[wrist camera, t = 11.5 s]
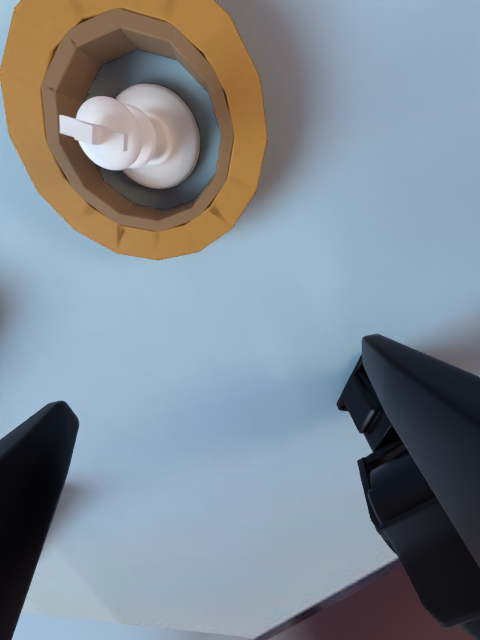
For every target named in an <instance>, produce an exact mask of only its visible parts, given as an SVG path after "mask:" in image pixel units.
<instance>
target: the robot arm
mask: <svg viewBox="0 0 480 640" xmlns="http://www.w3.org/2000/svg"><path fill="white" fill-rule="evenodd" d="M337 407H338V409H339V410H341V411H349V413H350V415H351V417H352V419H353V421H354V423H355V425H356V427H357V429H358V431H359V432H360V433H363V434H364V436H365V437H366V439H367V441H368V443H369V445H370V447H371V449H372V451H373V453H371V454H370V455H368V456H367V457H365V458H364V457H363V458H361V459H359V460H358V461H357V463H358V467H359V471H360V477H361V481H362V485H363V489H364V493H365V498H366V502H367V506H368V510H369V514H370V518H371V521H372V522H373V524H374V525H375V528H376V530H377V532H378V533H379V534H380V535H381V536H382V538H383V539H384V541H385V542H386V543H387V545H388V546H389V547H390V548H391V549H392V551H393V552H394V553H396V554H397V556H398V557H399V559H400V561H401V562H402V564H403V566H404V568H405V570H406V572H407V574H408V576H409V578H410V580H411V582H412V584H413V586H414V588H415V590H416V592H417V594H418V596H419V598H420V600H421V602H422V604H423V606H424V607H425V608H426V609H427V610H428V611H429V612H430V614H431V615H433V617H434V618H435V619H436V620H437V621H438V622H439V623H440V624H441V625H442V626H443V627H445V628H447V629H448V628H451V627H454V626H457V625H458V626H459V627H460V628H462V629H463V630H464V631H465V632H466V633H468V634H469V635H470V636H471V637H472V638H473V639H475V640H480V377H478V376H476V375H473V374H471V373H469V372H466V371H464V370H462V369H459V368H457V367H455V366H452V365H450V364H448V363H445V362H443V361H441V360H438V359H436V358H433V357H431V356H429V355H426V354H424V353H422V352H419V351H417V350H415V349H412V348H410V347H408V346H405V345H403V344H401V343H398V342H396V341H394V340H391V339H389V338H387V337H384V336H382V335H379V334H373V335H368V336H364V337H363V338H362V355H361V357H360V359H359V361H358V363H357V365H356V367H355V369H354V371H353V372H352V374H351V376H350V378H349V380H348V382H347V384H346V386H345V388H344V390H343V392H342V394H341V396H340V398H339V400H338V402H337ZM78 428H79V420H78V418H77V416H76V415H75V414H74V412H73V411H72V409H71V408H70V407H69V405H68V404H67V403H66V402H64V401H57V402H52V403H49V404H47V405H46V406H45V407H43V408H42V409H41V410H39V411H38V412H37V413H35V414H34V415H33V416H31V417H30V418H29V419H27V420H26V421H25V422H23V423H22V424H21V425H19V426H18V427H17V428H15V429H14V430H13V431H11V432H10V433H9V434H7V435H6V436H5V437H3V438H2V439H1V440H0V640H12V637H13V633H14V631H15V628H16V625H17V622H18V619H19V616H20V613H21V610H22V607H23V604H24V601H25V598H26V596H27V593H28V590H29V587H30V584H31V581H32V578H33V575H34V572H35V569H36V566H37V563H38V560H39V557H40V554H41V551H42V548H43V545H44V542H45V540H46V537H47V534H48V531H49V528H50V525H51V522H52V519H53V516H54V513H55V510H56V507H57V504H58V501H59V498H60V495H61V492H62V489H63V487H64V484H65V480H66V477H67V474H68V470H69V466H70V462H71V458H72V453H73V449H74V445H75V441H76V437H77V432H78Z"/></svg>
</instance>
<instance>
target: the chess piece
mask: <svg viewBox="0 0 480 640" xmlns="http://www.w3.org/2000/svg"><path fill="white" fill-rule="evenodd" d="M59 122H60V133H61V134H65V135H68V136H72V137H74V140H78V141H79V144H80V146H81V148H82V149H83V151H84V152H85V154H86V155H87V156H88V157H89V158H90V159H91V160H92V161H93V162H94V163H96V164H97V165H99V166H101V167H103V168H105V169H109V170H122V171H123V172H124V173H125V174H126V175H127V176H128V177H129V178H131V179H132V180H133V181H135V182H137V183H138V184H140V185H143V186H145V187H149V188H154V189H168V188H172V187H174V186H177V185H179V184H180V183H182V182H183V181H185V180H186V179H187V178H188V177H189V175H190V174H191V173H192V171H193V170H194V168H195V166H196V163H197V161H198V157H199V152H200V136H199V130H198V127H197V123H196V121H195V118H194V116H193V114H192V112H191V111H190V109H189V108H188V106H187V105H186V103H185V102H184V101H183V100H182V99H181V98H180V97H179V96H178V95H177V94H175V93H174V92H172V91H171V90H169V89H167V88H165V87H163V86H160V85H156V84H149V83H143V84H136V85H133V86H130V87H128V88H126V89H125V90H123V91H122V92H121V93H120V94H119V95H118V96H117V97H116V98H115V99H114V98H111V97H107V96H96V97H92V98H90V99H88V100H87V101H85V102H84V103H83V104H82V105H81V107H80V108H79V110H78V113H77V116H76V119H75V118H71V117H68V116H64V115H59Z"/></svg>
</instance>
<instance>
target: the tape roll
mask: <svg viewBox="0 0 480 640" xmlns="http://www.w3.org/2000/svg"><path fill="white" fill-rule="evenodd" d="M137 49H139V50H142V51H146V52H149V53H153V54H157V55H160V56H164V57H168V58H171V59H175V60H178V61H179V62H180V63H181V64H182V66H183V67H184V68H185V69H186V70H187V71H188V72H189V73H190V74H191V75H192V76H193V77H194V78H195V79H196V80H197V82H198V83H199V84H200V85H201V86H202V87H203V88H204V89H205V90H206V91H207V92H208V94H209V97H210V100H211V103H212V107H213V110H214V113H215V116H216V120H217V123H218V126H219V129H220V132H221V139H220V146H219V153H218V160H217V167H216V173H215V174H214V176H213V177H212V178H211V180H210V181H209V182H208V184H207V185H206V186H205V188H204V189H203V190H202V192H201V193H200V194H199V195H198V197H197V198H196V199H195V200H193V201H190V202H187V203H185V204H182V205H179V206H177V207H174V208H171V209H169V210H162V209H156V208H151V207H146V206H141V205H136V204H133V203H132V202H131V201H129V200H128V199H127V198H126V197H124V196H123V195H122V194H120V193H119V192H118V191H117V190H115V189H114V188H113V187H112V186H110V185H109V184H108V183H107V182H105V181H104V179H103V177H102V175H101V173H100V171H99V170H98V168H97V166H96V164H95V163H94V162H93V161H92V160H91V159H90V158H89V157H88V156H87V155H86V154H85V152H84V151H83V149H82V148H81V146H80V144H79V141H78V140H74V137H72V136H68V135H65V134H61V133H60V122H59V115H64V116H68V117H71V118H75V119H76V116H77V113H78V110H79V108H80V107H81V105H82V104H83V100H84V98H85V96H86V95H87V93H88V91H89V89H90V87H91V85H92V83H93V81H94V79H95V77H96V75H97V73H98V71H99V69H100V68H101V66H102V65H103V64H106V63H108V62H110V61H112V60H115V59H117V58H119V57H121V56H124V55H126V54H128V53H130V52H133V51H135V50H137ZM259 78H260V76H259V74H258V72H257V70H256V68H255V66H254V64H253V62H252V60H251V57H250V55H249V53H248V51H247V49H246V47H245V45H244V43H243V41H242V39H241V37H240V35H239V33H238V30H237V28H236V26H235V24H234V22H233V20H232V18H231V17H230V15H229V14H228V13H227V12H226V11H225V10H224V9H223V8H222V7H221V6H220V5H218V4H217V3H216V2H215V1H214V0H21V1H20V2H19V3H18V4H17V5H16V6H15V8H14V12H13V16H12V20H11V25H10V29H9V33H8V38H7V42H6V47H5V51H4V55H3V60H2V64H1V69H0V81H1V87H2V94H3V100H4V106H5V113H6V119H7V126H8V132H9V136H10V138H11V140H12V142H13V144H14V146H15V148H16V150H17V152H18V154H19V156H20V158H21V160H22V162H23V164H24V166H25V168H26V170H27V172H28V174H29V176H30V178H31V180H32V182H33V184H34V186H35V188H36V189H37V192H38V193H39V194H40V195H41V196H42V197H43V198H44V199H45V200H46V201H47V202H48V203H49V204H50V205H51V206H52V207H53V208H54V209H55V210H56V211H57V212H58V213H59V215H60V216H61V217H62V218H63V219H64V220H65V221H66V222H67V223H68V224H69V225H70V226H71V227H72V228H73V229H74V230H76V231H77V232H79V233H81V234H83V235H85V236H86V237H88V238H90V239H92V240H94V241H96V242H97V243H99V244H101V245H103V246H105V247H106V248H108V249H110V250H112V251H114V252H116V253H118V254H124V255H130V256H136V257H142V258H148V259H153V260H162V259H167V258H172V257H176V256H181V255H186V254H191V253H195V252H199V251H201V250H202V249H204V248H205V247H206V246H208V245H209V244H211V243H212V242H214V241H215V240H217V239H218V238H219V237H221V236H222V235H224V234H225V233H227V232H228V231H230V230H231V229H232V228H233V226H234V225H235V223H236V222H237V220H238V219H239V217H240V216H241V214H242V212H243V211H244V209H245V208H246V206H247V205H248V203H249V202H250V200H251V198H252V197H253V195H254V194H255V192H256V190H257V187H258V182H259V177H260V173H261V168H262V163H263V159H264V154H265V149H266V145H267V129H266V121H265V112H264V104H263V96H262V88H261V80H260V79H259Z"/></svg>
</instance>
